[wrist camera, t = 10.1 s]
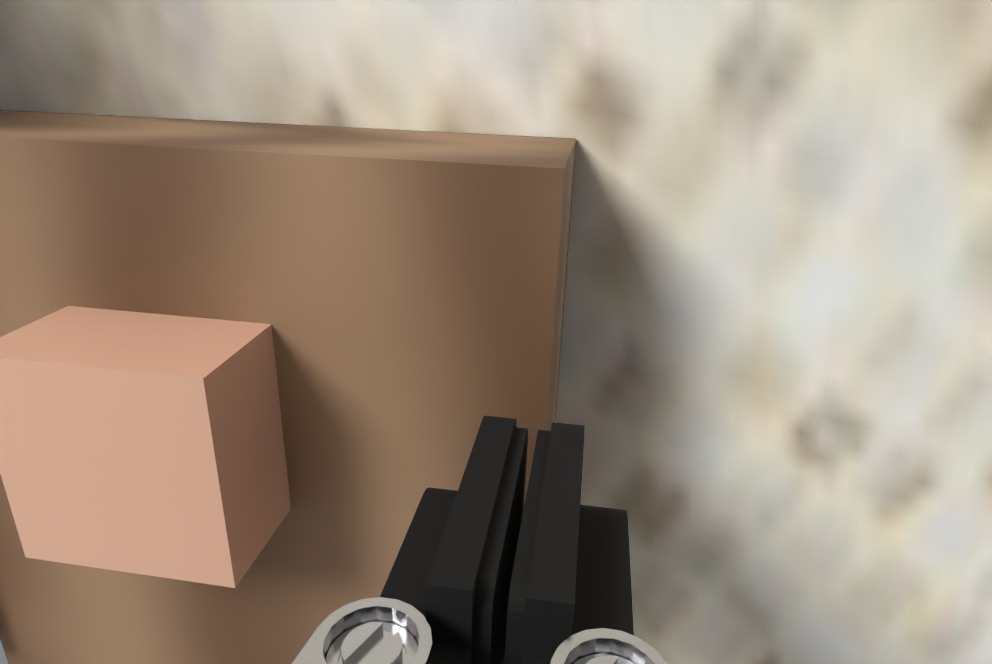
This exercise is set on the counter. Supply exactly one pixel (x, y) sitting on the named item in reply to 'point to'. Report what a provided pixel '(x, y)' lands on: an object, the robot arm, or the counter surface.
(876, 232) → the counter surface
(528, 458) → the brown square platform
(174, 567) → the tile
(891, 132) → the counter surface
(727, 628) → the counter surface
